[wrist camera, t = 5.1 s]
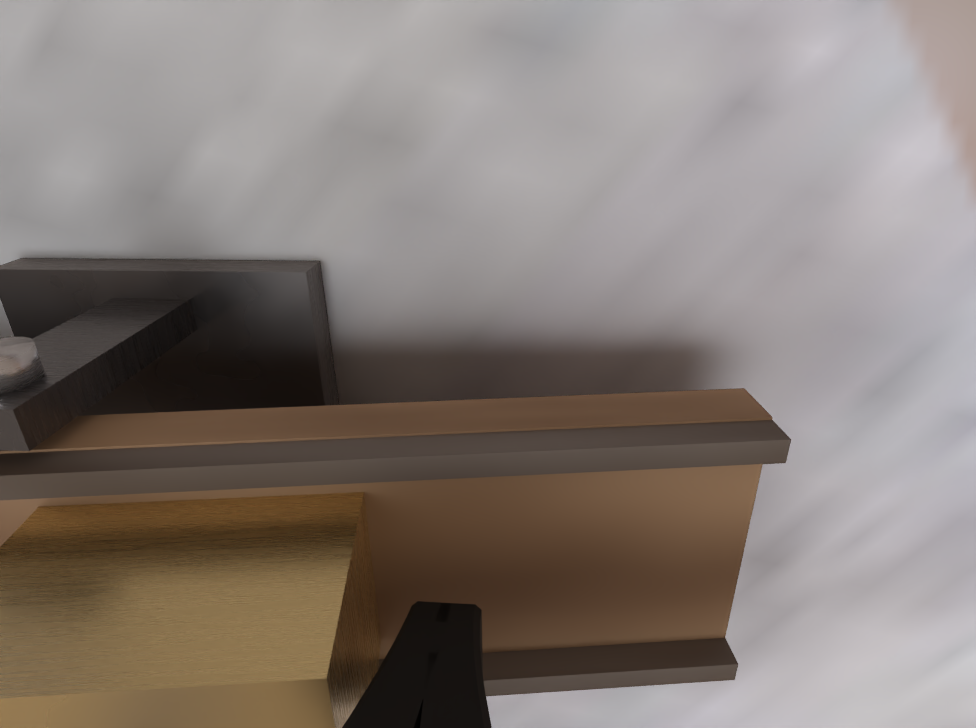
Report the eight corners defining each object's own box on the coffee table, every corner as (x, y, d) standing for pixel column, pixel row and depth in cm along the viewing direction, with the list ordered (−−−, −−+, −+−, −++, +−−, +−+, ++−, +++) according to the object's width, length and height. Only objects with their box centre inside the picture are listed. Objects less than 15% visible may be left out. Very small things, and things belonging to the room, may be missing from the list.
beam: (652, 511, 19) (734, 681, 13) (-339, 562, 17) (-687, 775, 12) (677, 319, 16) (791, 437, 11) (-496, 360, 15) (-1037, 520, 9)
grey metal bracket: (360, 564, 19) (282, 775, 14) (124, 553, 20) (-49, 750, 14) (319, 261, 15) (179, 375, 9) (20, 258, 16) (-288, 364, 10)
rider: (381, 640, 13) (356, 850, 10) (99, 656, 13) (-36, 879, 9) (363, 492, 12) (326, 678, 8) (38, 506, 11) (-156, 708, 8)
